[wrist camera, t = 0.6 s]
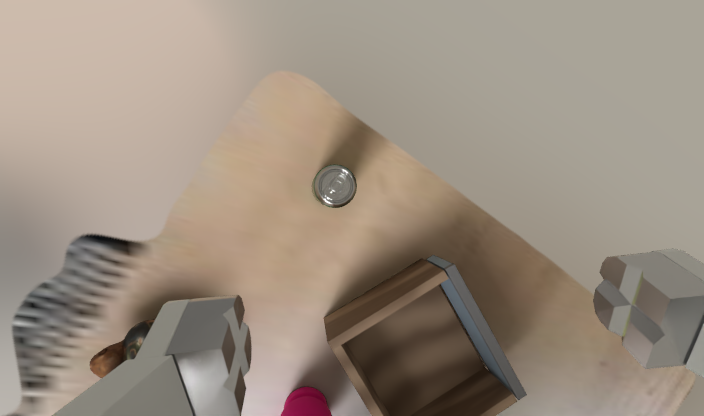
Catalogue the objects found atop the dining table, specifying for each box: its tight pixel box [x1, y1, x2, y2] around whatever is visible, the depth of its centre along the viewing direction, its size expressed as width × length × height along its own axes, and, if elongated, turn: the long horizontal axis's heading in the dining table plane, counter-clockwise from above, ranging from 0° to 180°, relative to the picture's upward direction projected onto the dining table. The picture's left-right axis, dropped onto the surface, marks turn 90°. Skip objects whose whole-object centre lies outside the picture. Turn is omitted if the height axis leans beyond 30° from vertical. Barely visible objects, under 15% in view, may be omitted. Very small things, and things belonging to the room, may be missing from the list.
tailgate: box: [427, 255, 527, 400], centre depth 55 cm, size 20×1×8 cm, turn 30°
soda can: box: [312, 165, 357, 208], centre depth 51 cm, size 5×5×12 cm
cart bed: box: [324, 259, 517, 416], centre depth 55 cm, size 20×17×10 cm
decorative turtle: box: [90, 320, 155, 378], centre depth 51 cm, size 10×15×8 cm, turn 91°
